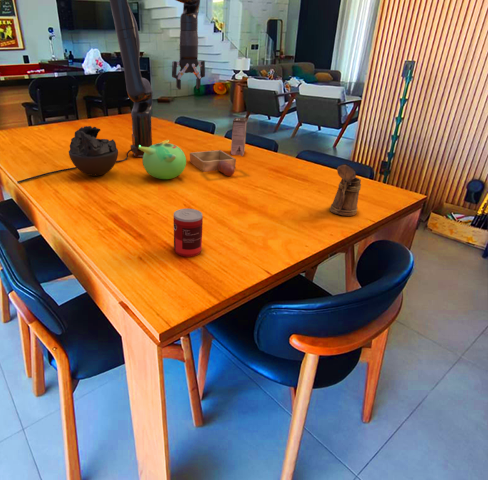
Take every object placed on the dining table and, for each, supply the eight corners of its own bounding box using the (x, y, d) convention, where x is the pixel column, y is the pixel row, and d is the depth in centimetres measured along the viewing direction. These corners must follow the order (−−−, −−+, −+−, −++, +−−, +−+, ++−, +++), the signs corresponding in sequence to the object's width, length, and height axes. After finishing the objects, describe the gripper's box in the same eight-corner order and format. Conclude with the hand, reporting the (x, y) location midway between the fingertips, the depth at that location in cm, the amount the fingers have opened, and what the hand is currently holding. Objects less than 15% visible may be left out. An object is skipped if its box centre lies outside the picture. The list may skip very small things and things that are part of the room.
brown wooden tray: (202, 173, 167) (203, 162, 164) (189, 162, 180) (189, 152, 177) (235, 169, 172) (236, 159, 169) (220, 160, 184) (220, 150, 182)
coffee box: (232, 151, 198) (234, 117, 189) (244, 151, 197) (247, 117, 188) (230, 155, 191) (232, 120, 182) (243, 156, 190) (246, 121, 181)
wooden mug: (319, 215, 129) (331, 160, 119) (336, 204, 138) (348, 152, 127) (345, 222, 125) (359, 166, 114) (360, 210, 133) (375, 157, 123)
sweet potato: (235, 177, 161) (237, 166, 159) (225, 177, 160) (227, 166, 157) (224, 170, 170) (226, 159, 167) (214, 169, 168) (217, 159, 166)
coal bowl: (102, 165, 175) (97, 120, 165) (129, 175, 164) (125, 127, 153) (63, 174, 164) (55, 127, 153) (89, 185, 152) (82, 135, 141)
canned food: (184, 242, 112) (184, 206, 106) (207, 249, 109) (208, 212, 102) (168, 252, 107) (167, 214, 101) (191, 260, 103) (192, 222, 97)
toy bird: (191, 174, 165) (191, 138, 156) (177, 187, 152) (177, 148, 143) (152, 170, 169) (151, 135, 161) (136, 182, 156) (133, 144, 148)
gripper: (201, 44, 162) (200, 87, 171) (169, 44, 158) (170, 88, 167) (208, 44, 156) (206, 89, 165) (175, 44, 152) (175, 90, 161)
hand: (188, 89), depth 166 cm, fingers open, 8 cm apart
